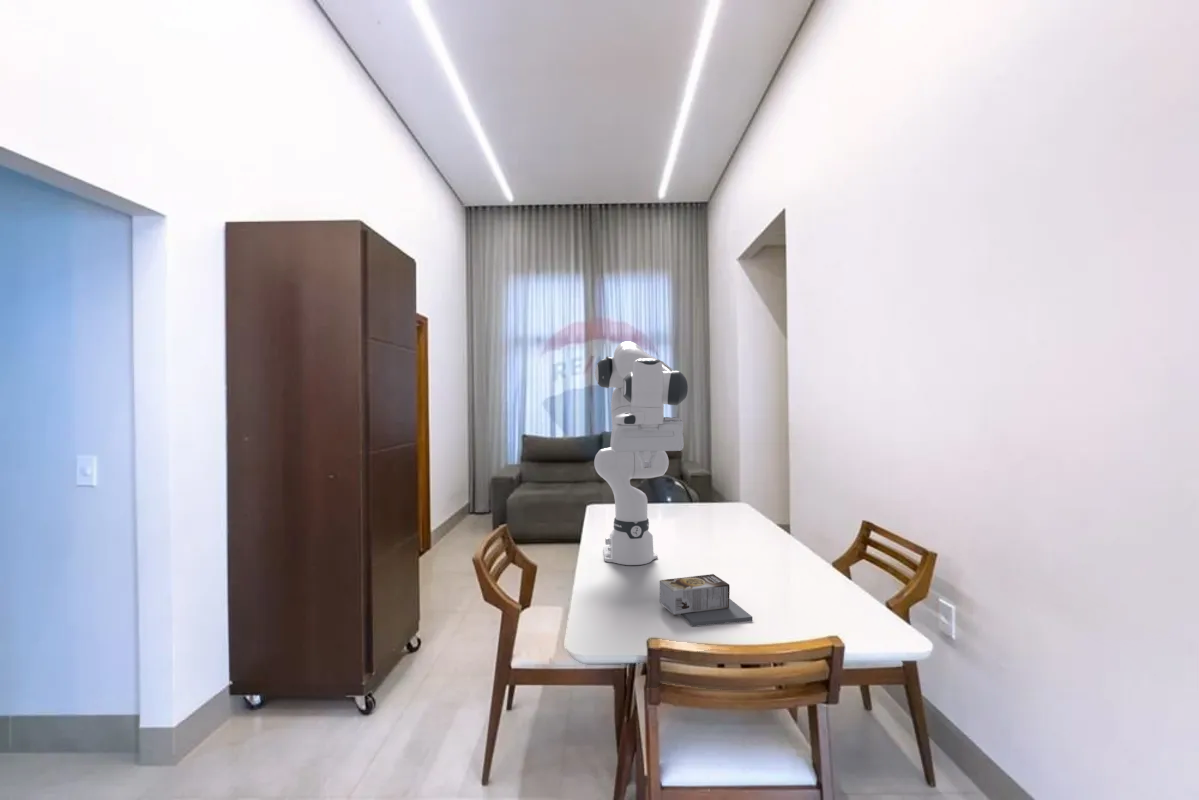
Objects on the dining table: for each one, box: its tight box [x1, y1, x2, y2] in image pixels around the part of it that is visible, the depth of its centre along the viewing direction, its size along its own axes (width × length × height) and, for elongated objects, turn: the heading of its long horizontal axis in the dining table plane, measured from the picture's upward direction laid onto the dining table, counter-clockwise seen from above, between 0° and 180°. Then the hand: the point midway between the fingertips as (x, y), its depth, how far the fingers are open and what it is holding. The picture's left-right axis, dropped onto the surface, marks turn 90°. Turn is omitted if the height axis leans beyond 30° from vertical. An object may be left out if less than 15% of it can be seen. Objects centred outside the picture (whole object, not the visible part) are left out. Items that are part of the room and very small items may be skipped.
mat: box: [680, 597, 753, 627], centre depth 143 cm, size 18×16×1 cm
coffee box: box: [658, 573, 731, 616], centre depth 143 cm, size 9×6×16 cm
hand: (646, 467), depth 149 cm, fingers closed
